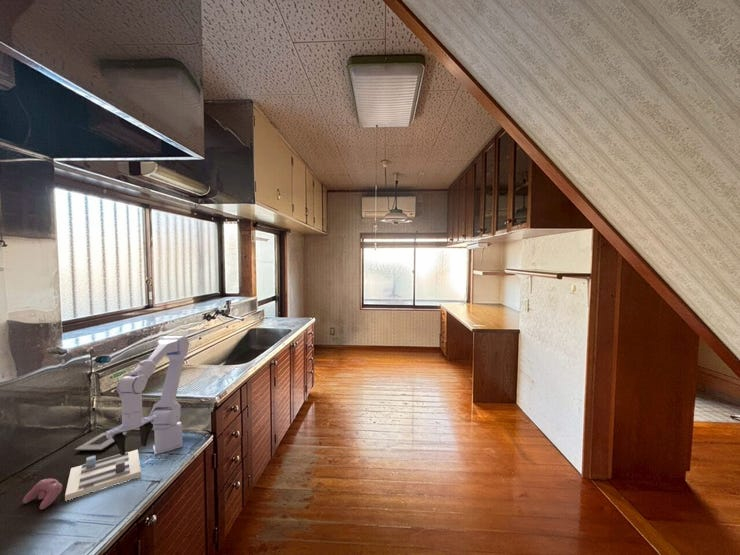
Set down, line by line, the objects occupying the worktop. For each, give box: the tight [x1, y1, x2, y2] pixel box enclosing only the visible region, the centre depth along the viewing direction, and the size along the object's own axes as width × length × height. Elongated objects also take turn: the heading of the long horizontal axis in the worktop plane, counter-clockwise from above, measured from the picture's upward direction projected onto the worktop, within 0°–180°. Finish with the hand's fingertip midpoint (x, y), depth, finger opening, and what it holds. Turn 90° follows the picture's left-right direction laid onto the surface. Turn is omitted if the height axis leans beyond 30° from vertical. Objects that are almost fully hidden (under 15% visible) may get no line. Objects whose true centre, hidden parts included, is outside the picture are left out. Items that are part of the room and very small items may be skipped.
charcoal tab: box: [116, 460, 125, 474], centre depth 111 cm, size 2×2×3 cm
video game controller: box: [22, 477, 63, 510], centre depth 101 cm, size 10×5×7 cm, turn 71°
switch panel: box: [64, 449, 142, 502], centre depth 113 cm, size 19×18×3 cm
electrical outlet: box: [74, 431, 128, 452], centre depth 134 cm, size 13×10×2 cm
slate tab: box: [85, 455, 97, 469], centre depth 114 cm, size 2×2×3 cm
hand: (133, 449), depth 114 cm, fingers open, 6 cm apart
